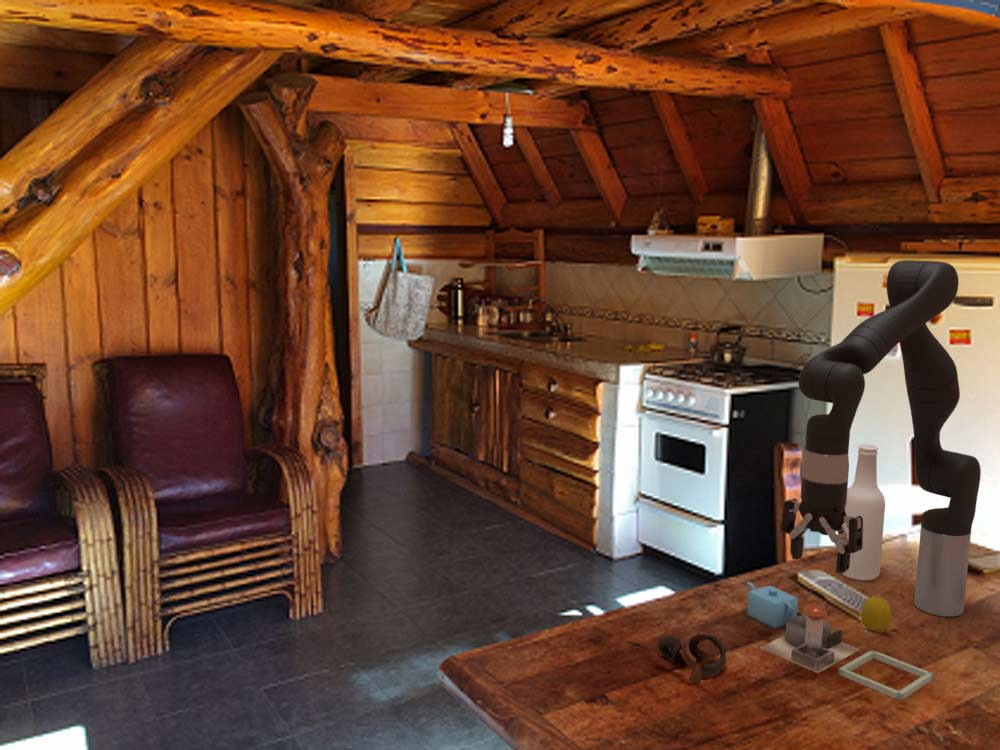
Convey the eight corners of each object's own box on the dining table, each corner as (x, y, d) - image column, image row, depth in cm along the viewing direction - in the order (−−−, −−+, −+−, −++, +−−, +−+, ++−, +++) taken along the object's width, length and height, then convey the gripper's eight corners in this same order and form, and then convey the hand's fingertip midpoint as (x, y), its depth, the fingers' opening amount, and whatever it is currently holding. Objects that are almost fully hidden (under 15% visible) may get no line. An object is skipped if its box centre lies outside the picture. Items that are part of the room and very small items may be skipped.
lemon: (893, 642, 171) (896, 602, 169) (862, 639, 172) (865, 600, 170) (886, 629, 176) (890, 591, 175) (857, 626, 177) (860, 588, 176)
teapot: (734, 615, 182) (736, 580, 181) (756, 609, 185) (757, 574, 184) (780, 638, 172) (782, 602, 171) (802, 631, 175) (804, 595, 174)
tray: (870, 662, 163) (871, 649, 162) (932, 687, 154) (933, 673, 154) (837, 682, 156) (838, 668, 155) (900, 709, 147) (901, 694, 147)
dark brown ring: (719, 661, 164) (732, 635, 159) (713, 705, 157) (727, 679, 152) (655, 639, 166) (666, 613, 161) (647, 682, 159) (658, 656, 153)
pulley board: (800, 633, 174) (802, 602, 173) (859, 657, 165) (862, 623, 164) (757, 654, 165) (759, 621, 164) (817, 681, 156) (819, 646, 155)
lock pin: (808, 654, 163) (812, 601, 161) (827, 662, 160) (831, 608, 158) (796, 660, 160) (800, 606, 158) (815, 668, 157) (819, 614, 156)
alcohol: (878, 584, 198) (888, 452, 193) (836, 577, 202) (845, 448, 197) (880, 570, 206) (890, 444, 201) (839, 564, 210) (848, 439, 205)
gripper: (875, 481, 151) (868, 572, 154) (800, 463, 162) (795, 549, 165) (851, 489, 146) (844, 583, 149) (776, 470, 157) (771, 558, 160)
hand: (818, 565), depth 157 cm, fingers open, 8 cm apart
